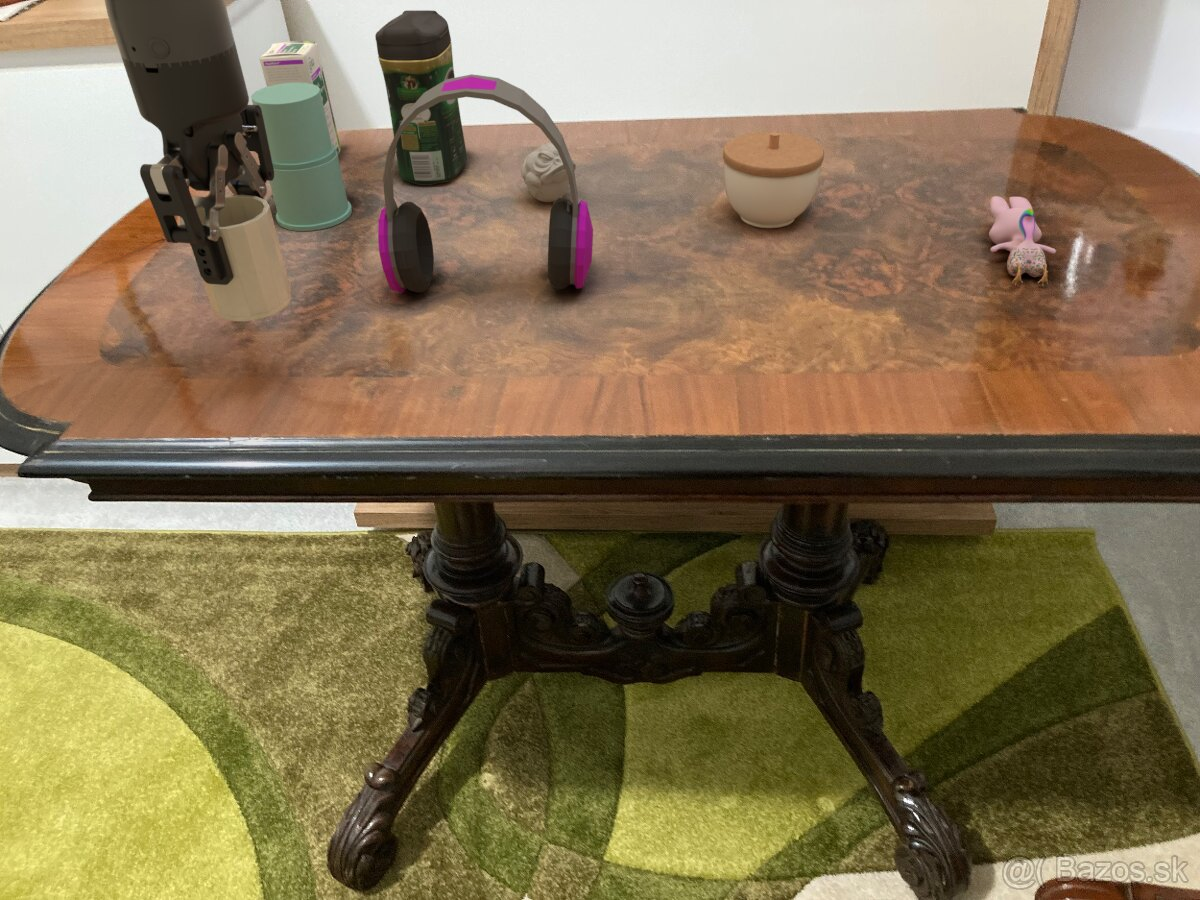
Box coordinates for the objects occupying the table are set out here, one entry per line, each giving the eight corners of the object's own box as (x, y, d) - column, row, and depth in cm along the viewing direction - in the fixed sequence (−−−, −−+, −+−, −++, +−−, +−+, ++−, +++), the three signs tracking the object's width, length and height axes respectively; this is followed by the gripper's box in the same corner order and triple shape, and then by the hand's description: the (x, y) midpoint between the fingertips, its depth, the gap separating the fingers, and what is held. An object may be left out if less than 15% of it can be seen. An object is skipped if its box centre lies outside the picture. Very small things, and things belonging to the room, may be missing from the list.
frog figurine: (548, 217, 105) (544, 158, 101) (511, 199, 109) (506, 141, 105) (588, 202, 108) (586, 143, 104) (552, 185, 112) (548, 128, 108)
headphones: (381, 310, 90) (339, 101, 77) (397, 267, 96) (361, 70, 84) (594, 305, 89) (586, 94, 77) (595, 263, 96) (588, 63, 83)
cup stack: (307, 238, 103) (275, 111, 94) (262, 218, 107) (228, 96, 98) (367, 211, 108) (342, 89, 99) (321, 194, 112) (294, 75, 103)
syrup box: (333, 171, 118) (307, 52, 109) (287, 173, 118) (257, 54, 109) (342, 155, 122) (318, 39, 113) (298, 156, 122) (270, 41, 113)
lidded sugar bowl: (702, 208, 106) (706, 126, 100) (783, 190, 109) (790, 110, 103) (750, 245, 98) (757, 159, 92) (835, 225, 101) (846, 141, 95)
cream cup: (241, 330, 73) (212, 237, 68) (196, 305, 76) (166, 214, 71) (307, 298, 77) (285, 208, 72) (262, 276, 80) (238, 188, 75)
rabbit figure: (1058, 298, 90) (1029, 211, 100) (1078, 248, 86) (1046, 162, 95) (992, 296, 91) (969, 210, 101) (1008, 246, 86) (984, 161, 96)
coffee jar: (415, 157, 121) (390, 4, 109) (473, 158, 120) (455, 4, 108) (391, 186, 113) (362, 26, 102) (453, 188, 112) (431, 26, 101)
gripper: (180, 15, 70) (238, 220, 80) (65, 72, 59) (150, 302, 69) (272, 17, 69) (319, 225, 79) (173, 76, 58) (243, 308, 68)
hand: (240, 260), depth 74 cm, fingers closed on cream cup, 6 cm apart
